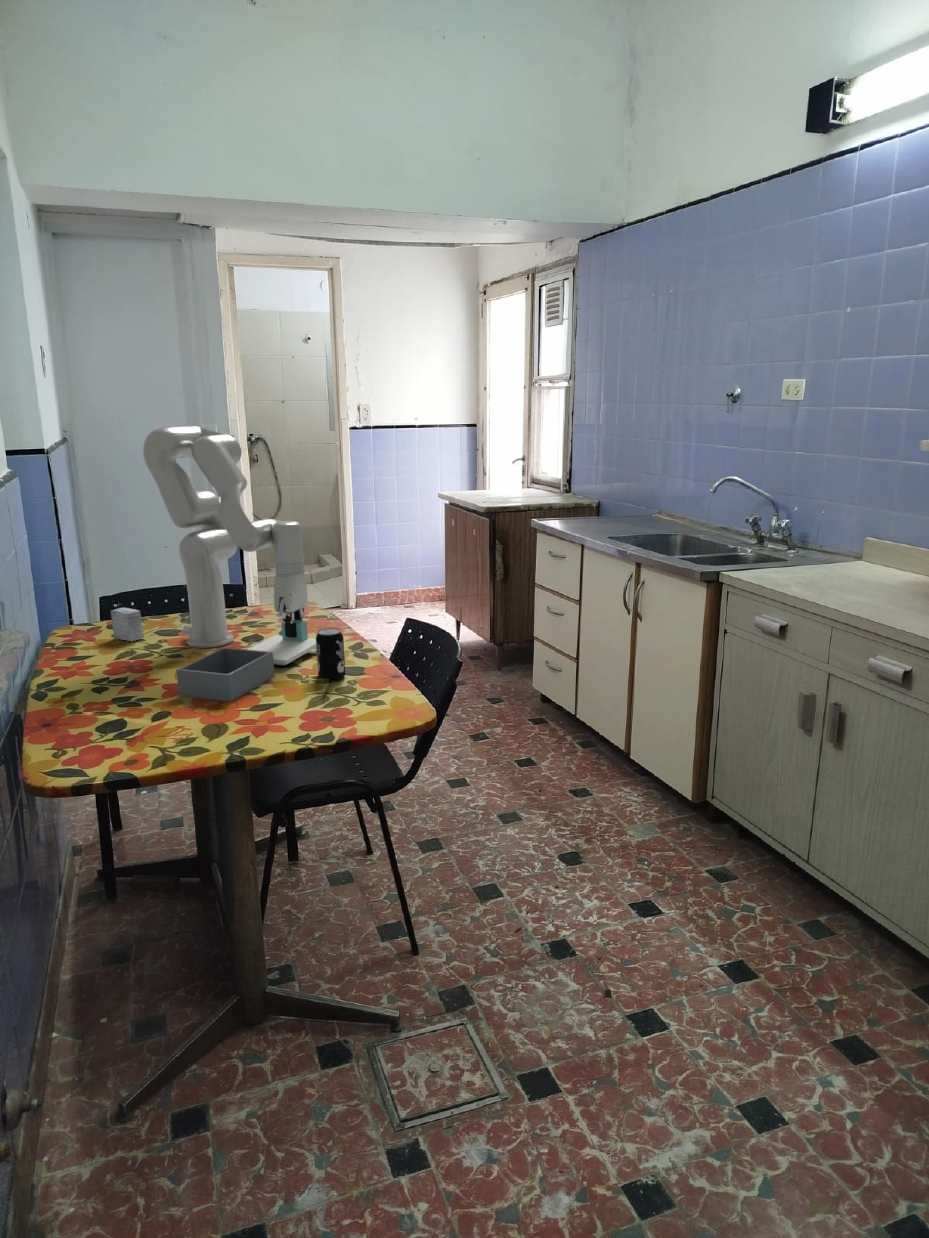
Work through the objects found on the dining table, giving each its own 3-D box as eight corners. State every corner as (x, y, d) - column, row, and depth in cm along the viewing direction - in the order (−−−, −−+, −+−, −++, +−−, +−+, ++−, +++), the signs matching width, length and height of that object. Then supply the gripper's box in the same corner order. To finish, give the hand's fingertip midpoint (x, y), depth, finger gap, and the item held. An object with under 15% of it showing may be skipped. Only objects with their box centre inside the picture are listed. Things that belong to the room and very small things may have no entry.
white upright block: (144, 639, 236) (140, 610, 234) (131, 643, 232) (127, 613, 230) (127, 635, 240) (123, 606, 238) (113, 639, 236) (109, 610, 234)
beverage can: (333, 684, 196) (330, 636, 193) (312, 679, 199) (309, 632, 196) (351, 676, 201) (348, 629, 198) (330, 672, 204) (327, 625, 201)
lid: (235, 662, 208) (233, 636, 207) (275, 642, 226) (273, 617, 224) (287, 668, 204) (285, 641, 202) (323, 646, 221) (322, 621, 219)
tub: (179, 698, 188) (176, 669, 186) (225, 674, 204) (223, 647, 202) (231, 705, 183) (228, 675, 181) (274, 679, 200) (272, 652, 198)
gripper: (293, 561, 225) (297, 626, 229) (260, 573, 210) (266, 642, 215) (317, 563, 222) (321, 628, 227) (286, 575, 207) (291, 644, 212)
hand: (294, 634), depth 221 cm, fingers closed on lid, 2 cm apart
